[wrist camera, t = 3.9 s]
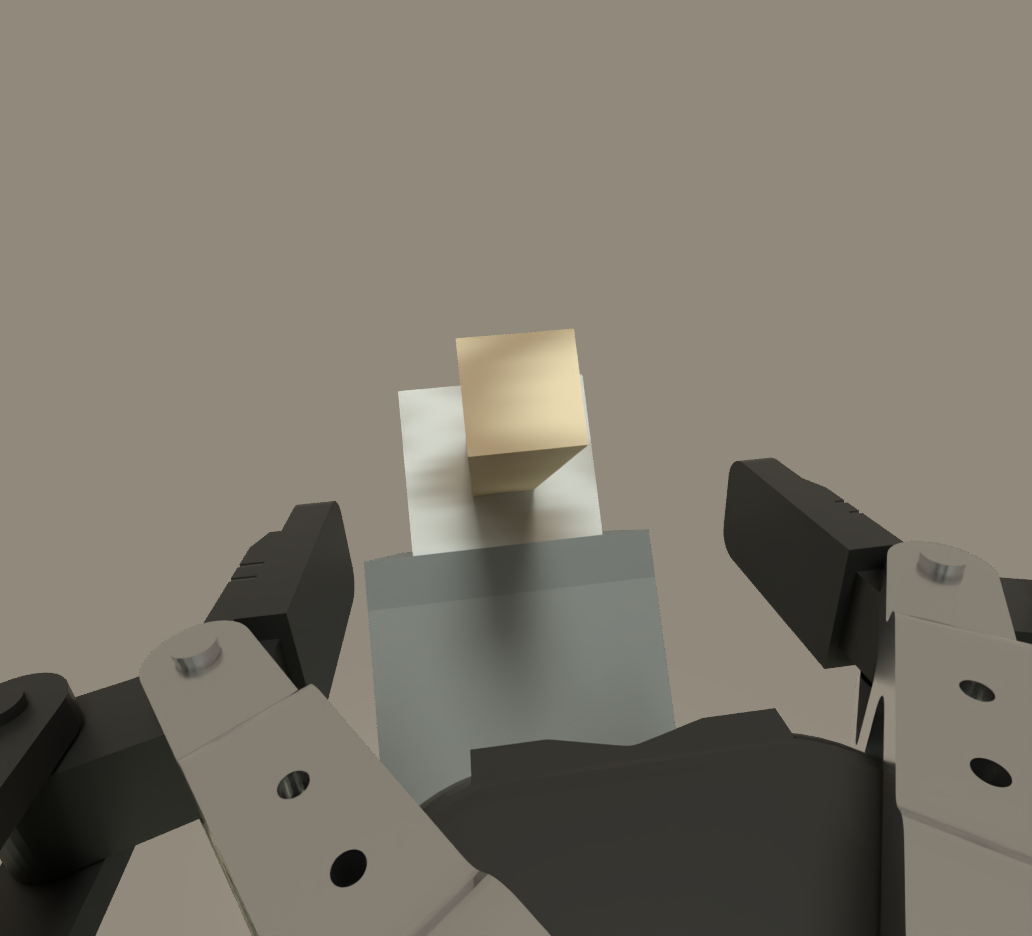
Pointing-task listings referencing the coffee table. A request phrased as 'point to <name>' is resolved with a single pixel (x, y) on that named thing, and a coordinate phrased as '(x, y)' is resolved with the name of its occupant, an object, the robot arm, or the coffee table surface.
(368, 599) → the tall grey pillar
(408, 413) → the mallet
